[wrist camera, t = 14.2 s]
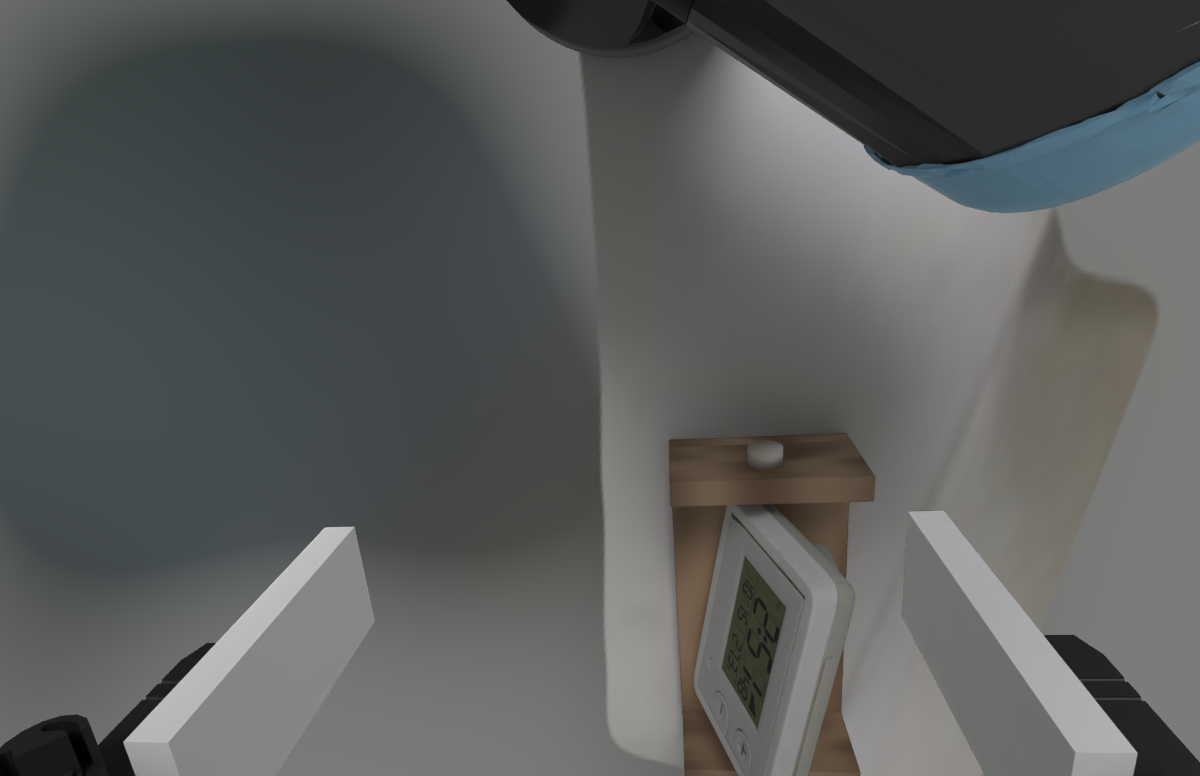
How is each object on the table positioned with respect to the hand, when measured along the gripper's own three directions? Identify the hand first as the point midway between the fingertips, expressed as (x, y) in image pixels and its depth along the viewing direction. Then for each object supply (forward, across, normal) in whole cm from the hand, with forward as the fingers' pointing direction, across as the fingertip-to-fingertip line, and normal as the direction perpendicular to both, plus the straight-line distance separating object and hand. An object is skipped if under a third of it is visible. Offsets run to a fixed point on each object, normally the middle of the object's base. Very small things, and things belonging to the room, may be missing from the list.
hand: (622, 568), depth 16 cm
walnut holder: (+27, +6, -19) cm, 33 cm away
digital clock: (+26, +6, -18) cm, 32 cm away
